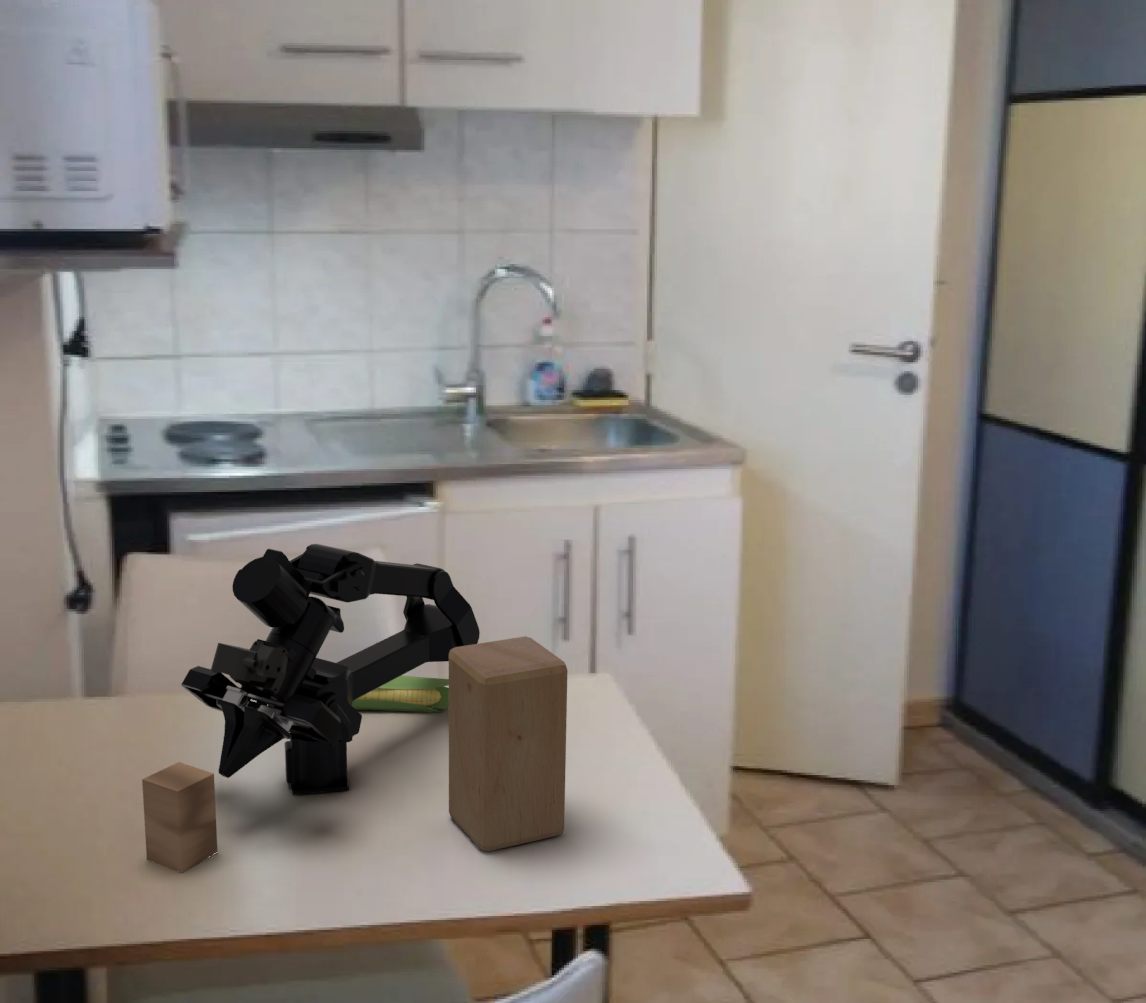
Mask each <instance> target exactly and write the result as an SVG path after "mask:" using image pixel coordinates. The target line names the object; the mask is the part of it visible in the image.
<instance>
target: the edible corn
mask: <svg viewBox="0 0 1146 1003" xmlns="http://www.w3.org/2000/svg"><path fill="white" fill-rule="evenodd" d="M447 686H448V687H447ZM352 707H354V708H355V709H356V710H357V711H359V710H360V711H389V712H390V711H393V712H394V711H395V712H396V711H397V712H417V713H418V712H419V713H441V714H442V713H444V712H443V711H445V708H446V709H447V708H448V709H449V678H440V677H439V678H437V677H424V676H423V677H422V676H411V675H404V674H403V675H401V676H399V677H397V678H395V679H394V680H392V681H390V682H388V683H386V684H384V685H382V686H380V687H378V688H376V689H375V690H373V691H371V692H369V693H367V694H365V695H363V696H361V697H359V698H357V699H356V700H354V701H353V703H352ZM442 708H444V709H442Z"/></svg>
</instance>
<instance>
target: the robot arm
mask: <svg viewBox="0 0 1146 1003" xmlns="http://www.w3.org/2000/svg"><path fill="white" fill-rule="evenodd" d="M232 593H233V596H234V597H235V598H236V599H237V600H238V601H239V602H240V603H241V604H242V606H244V607H245V608H246V609H247V610H249V611H250V612H251V613H252V614H253V615H254V616H255V617H256V618H257V619H258V620H259V621H261V623H263V624H264V626H266V627H268V628H271V629H270V631H269V634H268V636H266V639H265V640H263V639H260V638H257V640H255V641H254V642H253V643H252V645H251V646H250V648H244V647H241V646H235V645H231V644H227V643H222V642H218V643H217V646H216V649H215V653H214V655H213V656H214V657H213V661H212V664H211V668H207V667H203V666H200V665H197V666H194V667H193V668H189V670H188V671H187V673H186V675H185V677H184V679H183V681H182V682H181V684H180V686H181V687H182V688H184V689H185V690H186V691H188V692H189V693H190V694H191V695H193V696H194V697H195V698H196V699H198V700H199V701H200V702H201V703H202V704H204V705H205V706H207V707H209V708H211V709H213V710H216V711H220V712H222V713H223V718H224V733H223V734H224V735H223V741H222V747H221V748H222V749H221V753H220V761H219V766H218V774H219V775H220V776H221V777H224V778H227V779H229V778H231V777H232V776H233V775H235V774H236V773H237V772H238V771H240V770H241V769H242V768H244V767H245V766H246V765H248V764H249V763H250V762H252V761H253V760H254V759H255V758H257V757H259V755H261V754H262V753H263V752H265V751H267V750H268V749H270V748H272V747H273V746H274V745H275V744H278V743H279V742H280V741H281V742H282V740H284V739H286V741H285V742H284V763H285V764H284V765H285V766H284V768H285V770H284V771H285V779H286V781H285V782H286V783H287V784H288V785H289V784H290V790H291V794H292V795H304V794H314V793H315V794H316V793H327V792H341V791H348V790H349V789H350V788H351V786H350V779H349V776H348V750H347V749H348V748H347V747H348V744H347V743H350V742H352V741H353V737H354V736H356V735H358V734H359V733H360V730H361V724H362V720H363V715H362V713H360V712H359V710H356V709H355V708H354V707H352V703H353V701H354V700H356V699H357V698H359V697H361V696H363V695H365V694H367V693H369V692H371V691H373V690H375V689H376V688H378V687H380V686H382V685H384V684H386V683H388V682H390V681H392V680H394V679H395V678H397V677H399V676H401V675H403V676H404V675H405V674H406V673H409V672H410V671H412V670H415V669H416V668H418V667H421V666H422V665H424V664H427V663H439V662H440V663H441V662H449V652H450V650H451V649H453V648H455V647H460V646H467V645H473V644H479V640H480V636H481V635H480V634H481V632H480V628H479V624H478V621H477V619H476V617H475V614H474V611H473V608H472V606H471V604H470V603H469V602H468V601H467V600H466V598H465V597H464V596H463V595H462V594H461V593H460V592H459V591H458V589H456V587H455V586H454V584H453V581H452V578H451V576H450V574H449V573H448V572H447V571H445V570H444V569H443V568H440V567H436V566H431V565H428V564H422V563H418V562H417V563H414V564H409V563H399V562H391V561H382V560H380V561H379V560H375V559H374V558H371V557H369V556H367V555H364V554H362V553H360V552H356V551H351V550H349V549H348V550H347V549H342V548H337V547H334V546H329V545H324V544H320V543H311V544H309V545H306V548H305V550H304V552H303V553H302V554H300V555H297V556H296V557H294V558H292V559H291V560H290V559H289V558H288V557H287V555H286V554H285V553H284V552H283V551H281V550H277V549H272V548H267V549H266V550H265V552H264V554H263V556H260V557H258V558H255V559H252V560H251V561H249V562H247V564H245V565H244V566H243V567H242V568H241V569H239V570H238V571H237V572H236V574H235V576H234V579H233V582H232ZM377 594H378V595H388V596H398V597H399V596H403V597H406V601H405V604H404V606H403V607H404V608H403V615H404V619H405V624H404V629H403V630H401V631H398V632H396V633H394V634H392V635H391V636H388V637H386V638H384V639H382V640H380V641H378V642H376V643H373V644H372V645H370V646H368V647H366V648H363V649H362V650H359V651H358V652H355V653H354V654H352V655H349V656H347V657H345V658H344V659H340V661H339V660H338V661H337V662H333V661H330V660H326V659H322V658H319V657H317V656H318V655H319V652H320V650H321V648H322V646H323V644H324V642H325V640H326V638H327V636H328V635H329V633H330V631H332V632H335V633H340V634H342V633H344V630H345V624H344V621H343V619H342V616H341V608H340V607H335V606H332V605H327V604H326V603H325V601H323V600H322V599H321V598H319V597H322V598H326V599H331V600H335V601H340V602H343V603H347V604H348V603H352V602H357V601H364V600H366V599H368V597H370V596H371V595H377ZM311 595H314V596H311ZM316 596H318V597H316ZM424 599H428V600H431V601H432V600H433V602H434V604H430V603H427V604H425V601H424ZM224 674H225V675H228V676H229V677H230V678H231V680H230V679H229V678H228V677H227V676H225V675H224ZM234 682H235V683H237V684H239V685H240V686H238V685H236V684H235V683H234Z"/></svg>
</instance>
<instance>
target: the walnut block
mask: <svg viewBox="0 0 1146 1003" xmlns="http://www.w3.org/2000/svg"><path fill="white" fill-rule="evenodd" d="M141 780H142V784H141V785H142V799H143V800H142V801H143V816H144V829H145V830H144V832H145V849H146V850H145V851H146V861H149V860H150V861H149V862H151V861H153V862H152V863H154V862H155V864H156V863H157V865H159V864H160V865H159V866H162V865H163V866H162V867H164V866H165V868H167V867H168V868H167V869H169V868H170V869H169V870H172V871H175V872H177V871H179V872H178V873H179V874H183V873H185V872H186V871H189V870H191V869H192V868H194V867H196V866H197V865H199V864H201V863H203V862H204V861H203V860H205V859H206V860H208V859H209V858H208V857H209V856H212V855H213V854H214V853H216V852H218V834H217V815H216V814H217V813H216V812H217V810H216V808H217V807H216V789H215V786H216V785H215V773H213V772H210V771H208V770H204V769H202V768H199V767H195V766H193V765H189V764H187V763H183V762H181V761H178V762H176V763H174V764H172V765H170V766H168V767H166V768H163V769H161V770H158V771H156V772H155V773H153V774H150V775H149V776H146V777H144V778H142V779H141ZM212 857H213V856H212ZM207 858H208V859H207ZM206 860H205V861H206ZM202 861H203V862H202ZM200 862H201V863H200ZM184 871H185V872H184Z"/></svg>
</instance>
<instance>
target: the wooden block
mask: <svg viewBox="0 0 1146 1003" xmlns="http://www.w3.org/2000/svg"><path fill="white" fill-rule="evenodd" d="M448 679H449V685H448V688H449V708H448V814H449V816H450V818H451V819H452V820H453V821H454V822H455V823H456V824H457V825H458V826H459V827H460V829H462V830H463V831H464V833H466V835H467V836H468V837H469V838H470V840H472V841H473V842H474V843H475V844H476V846H477V847H478V848H479V849H480V850H482V851H487V852H491V851H496V850H501V849H504V848H508V847H513V846H518V845H522V844H527V843H531V842H535V841H540V840H544V839H549V838H553V837H557V836H559V835H561V834H563V832H564V829H565V814H566V811H565V809H566V807H565V806H566V795H565V794H566V768H567V767H566V764H567V763H566V760H567V757H566V756H567V753H566V752H567V716H568V715H567V714H568V713H567V712H568V707H567V706H568V702H567V701H568V668H567V665H566V662H565V661H564V660H562V659H561V658H559V657H558V656H557V655H555V654H554V653H552V652H551V651H550V650H549V649H547V648H546V647H544V646H543V645H541V644H540V643H539V642H537V641H536V640H535V639H533V638H532V637H528V636H519V637H513V638H506V639H499V640H494V641H487V642H480V643H479V642H478V643H477V644H473V645H467V646H460V647H455V648H453V649H451V650H450V652H449V661H448Z"/></svg>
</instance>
